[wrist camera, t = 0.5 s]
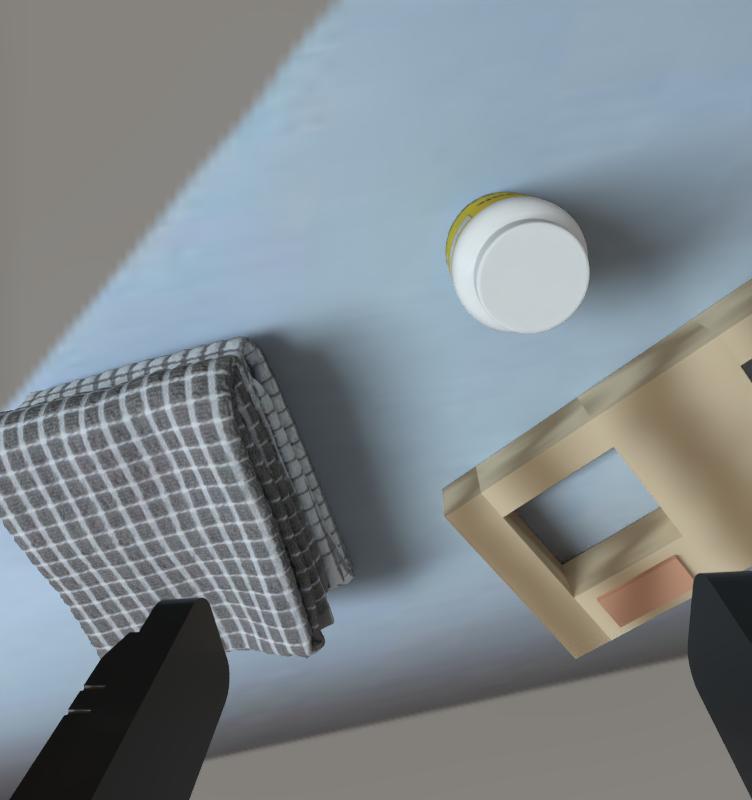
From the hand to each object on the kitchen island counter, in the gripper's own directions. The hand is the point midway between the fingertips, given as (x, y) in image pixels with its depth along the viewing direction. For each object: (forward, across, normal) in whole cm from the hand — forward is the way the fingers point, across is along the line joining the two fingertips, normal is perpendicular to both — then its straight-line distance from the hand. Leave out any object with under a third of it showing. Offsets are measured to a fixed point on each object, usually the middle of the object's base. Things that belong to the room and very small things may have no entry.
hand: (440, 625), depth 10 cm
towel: (+23, +16, +10) cm, 30 cm away
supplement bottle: (+23, -4, -2) cm, 24 cm away
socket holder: (+23, -14, +10) cm, 29 cm away
